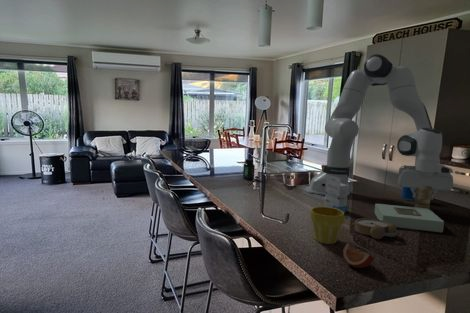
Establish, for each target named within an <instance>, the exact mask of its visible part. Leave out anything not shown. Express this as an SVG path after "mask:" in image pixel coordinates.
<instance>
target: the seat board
mask: <svg viewBox="0 0 470 313" xmlns="http://www.w3.org/2000/svg"><path fill="white" fill-rule="evenodd" d="M374 214H375V216H376V218H377V220H378V219H379V220H382V221H385V222H388V223H389V224H390V223H391V224H394V225H395V226H396V228H398V227H399V228H401V229H406V230H407V229H410V230H419V231H428V232H436V233H443V232H444V225H445V221H444V220H443V219H441V217H439V215H437V214H435V212H434V211H432V210H431V209H430V208H429V209H426V208H416V207H414V206H405V205H403V206H402V205H393V204H392V205H391V204H384V203H375V205H374Z"/></svg>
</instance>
